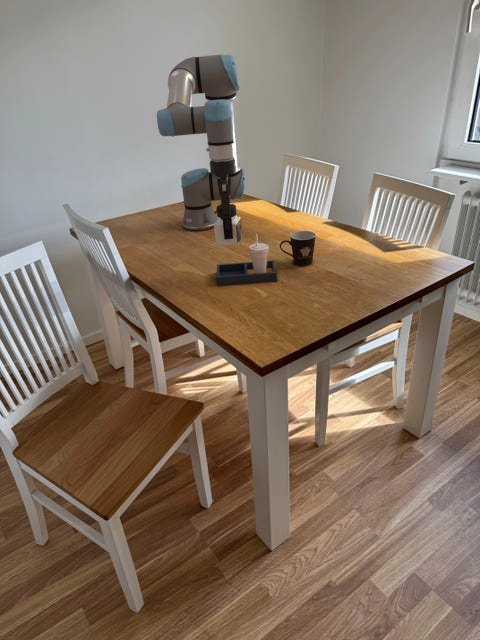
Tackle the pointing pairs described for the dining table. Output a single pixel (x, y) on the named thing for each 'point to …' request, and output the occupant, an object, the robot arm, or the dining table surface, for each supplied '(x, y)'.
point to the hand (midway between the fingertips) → (228, 233)
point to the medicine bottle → (235, 227)
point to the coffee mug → (301, 247)
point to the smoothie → (259, 256)
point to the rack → (244, 273)
